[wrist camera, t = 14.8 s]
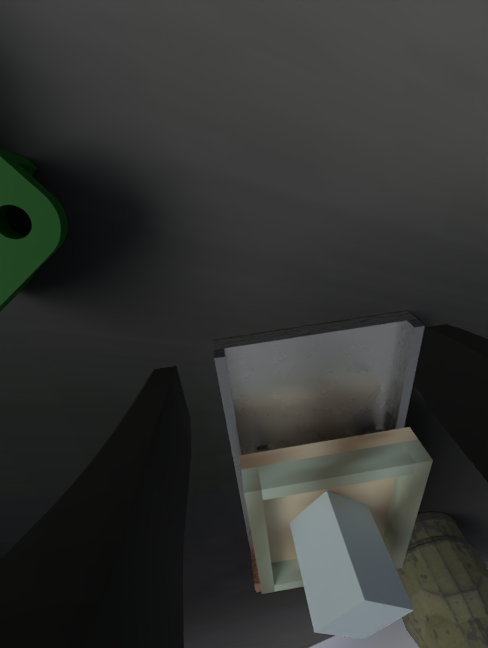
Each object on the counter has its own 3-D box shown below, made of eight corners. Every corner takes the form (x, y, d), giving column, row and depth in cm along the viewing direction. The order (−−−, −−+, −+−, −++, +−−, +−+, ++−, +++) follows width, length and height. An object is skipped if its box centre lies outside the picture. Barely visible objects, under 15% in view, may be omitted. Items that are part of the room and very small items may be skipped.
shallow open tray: (394, 405, 23) (433, 460, 19) (376, 511, 30) (401, 567, 26) (236, 431, 23) (244, 492, 19) (253, 533, 29) (262, 593, 26)
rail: (407, 310, 21) (456, 353, 17) (373, 512, 32) (397, 565, 28) (213, 340, 20) (216, 391, 16) (249, 535, 31) (255, 592, 27)
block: (367, 505, 24) (414, 610, 19) (330, 534, 25) (364, 639, 20) (326, 490, 22) (364, 600, 17) (289, 522, 24) (314, 632, 19)
